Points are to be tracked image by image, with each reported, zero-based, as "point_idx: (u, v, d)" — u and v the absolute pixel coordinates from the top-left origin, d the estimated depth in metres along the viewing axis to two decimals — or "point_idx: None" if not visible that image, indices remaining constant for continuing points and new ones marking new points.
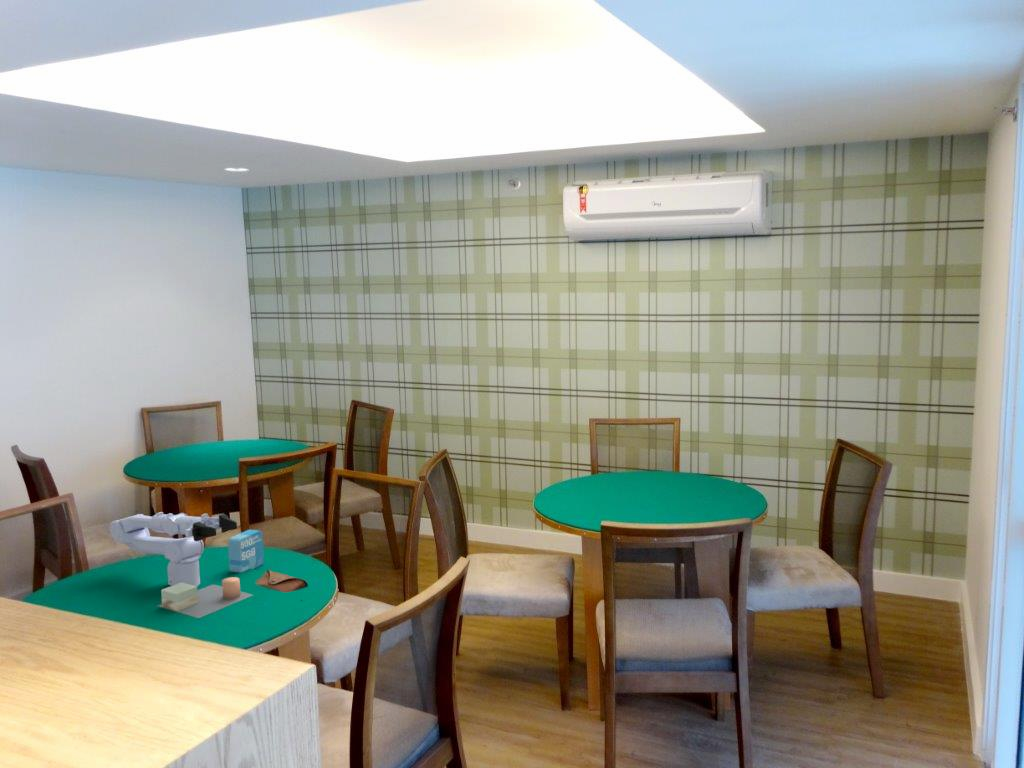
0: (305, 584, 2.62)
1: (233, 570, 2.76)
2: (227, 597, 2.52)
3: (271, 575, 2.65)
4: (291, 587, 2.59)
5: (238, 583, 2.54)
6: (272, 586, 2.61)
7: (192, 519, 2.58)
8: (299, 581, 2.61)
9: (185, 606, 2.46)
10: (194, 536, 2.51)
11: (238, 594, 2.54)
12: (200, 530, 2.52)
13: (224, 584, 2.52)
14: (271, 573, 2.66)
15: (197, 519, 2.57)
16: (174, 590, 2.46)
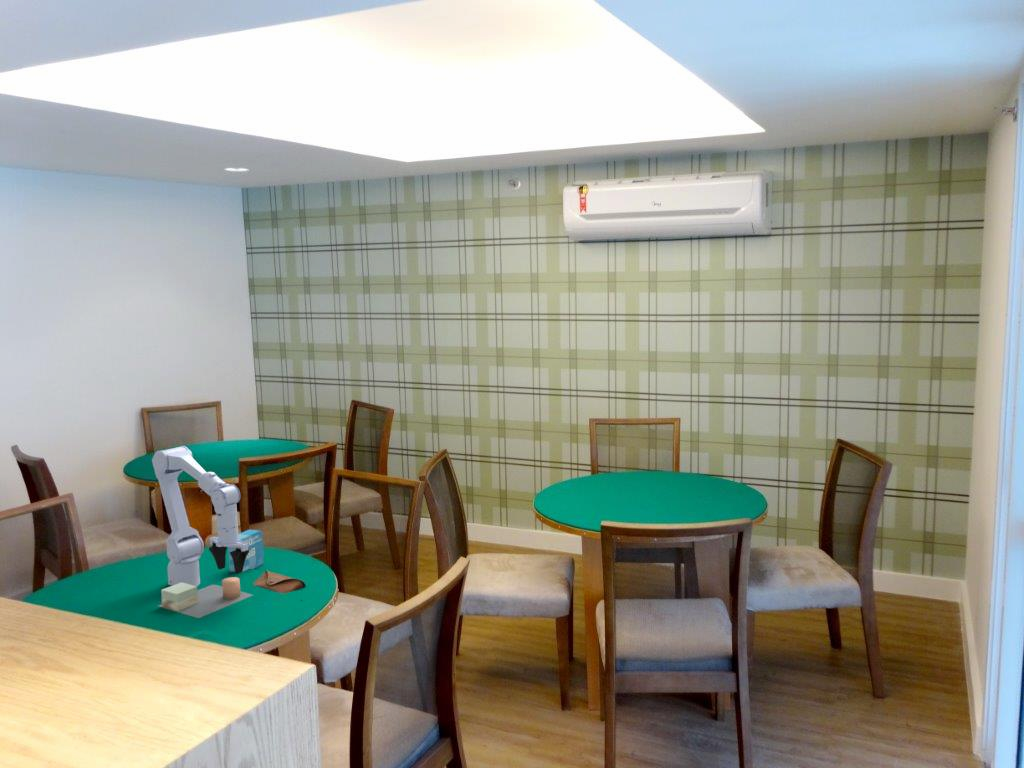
0: (303, 585, 2.61)
1: (233, 570, 2.76)
2: (227, 597, 2.52)
3: (269, 576, 2.64)
4: (289, 588, 2.58)
5: (238, 583, 2.54)
6: (270, 587, 2.60)
7: None
8: (297, 582, 2.60)
9: (185, 606, 2.46)
10: None
11: (238, 594, 2.54)
12: None
13: (224, 584, 2.52)
14: (269, 574, 2.66)
15: (218, 537, 2.51)
16: (174, 590, 2.46)
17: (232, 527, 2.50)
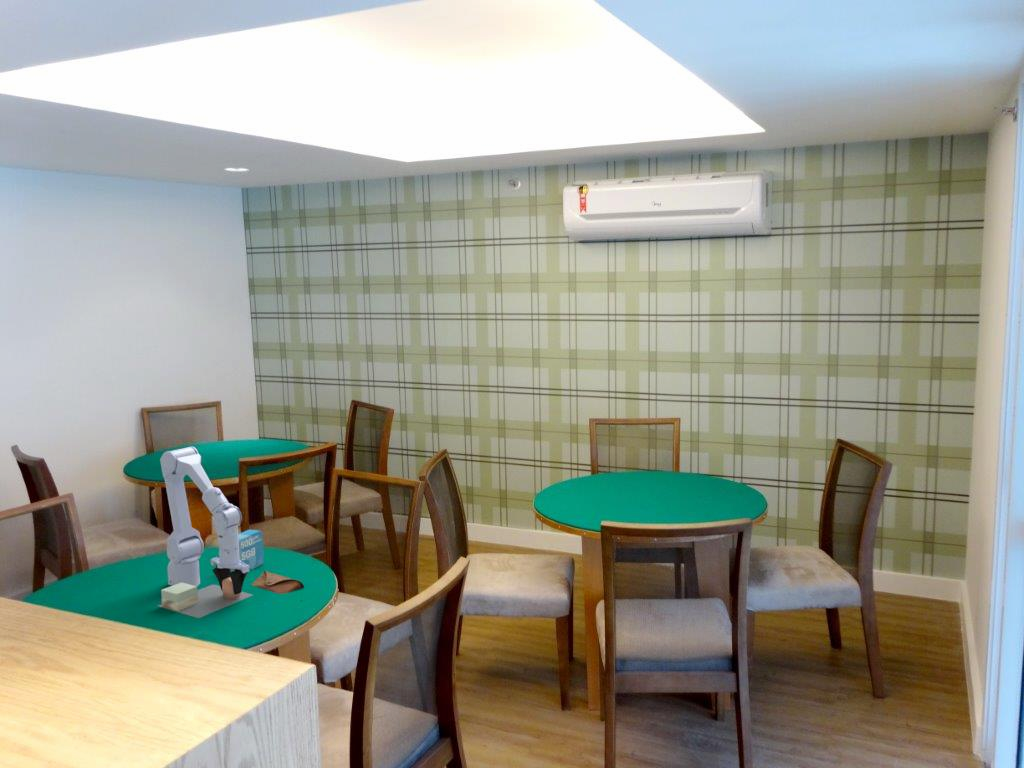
0: (301, 585, 2.60)
1: (233, 570, 2.76)
2: (227, 597, 2.52)
3: (267, 576, 2.64)
4: (287, 589, 2.58)
5: None
6: (268, 587, 2.60)
7: (219, 551, 2.51)
8: (295, 583, 2.60)
9: (185, 606, 2.46)
10: None
11: (238, 594, 2.54)
12: None
13: (224, 584, 2.52)
14: (268, 574, 2.65)
15: (219, 558, 2.51)
16: (174, 590, 2.46)
17: (233, 549, 2.51)
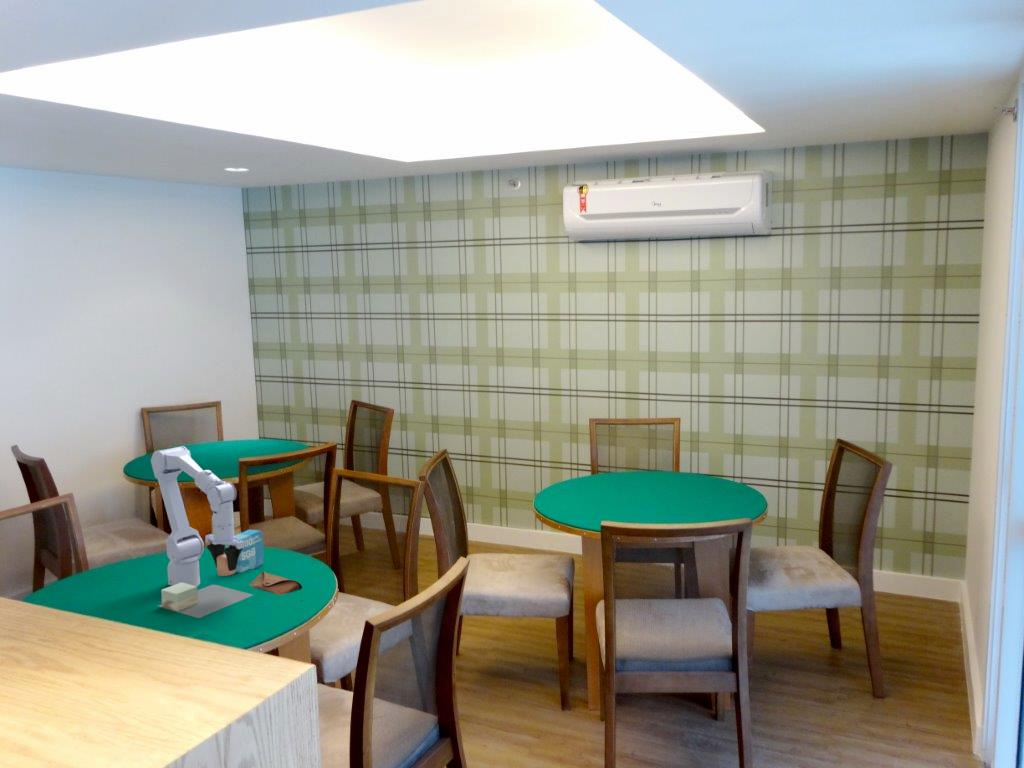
0: (299, 586, 2.60)
1: None
2: (222, 573, 2.51)
3: (265, 577, 2.63)
4: (285, 589, 2.57)
5: None
6: (266, 588, 2.59)
7: None
8: (294, 583, 2.59)
9: (185, 606, 2.46)
10: None
11: (233, 571, 2.52)
12: None
13: (219, 560, 2.50)
14: (266, 575, 2.65)
15: (214, 534, 2.50)
16: (174, 590, 2.46)
17: (227, 525, 2.49)
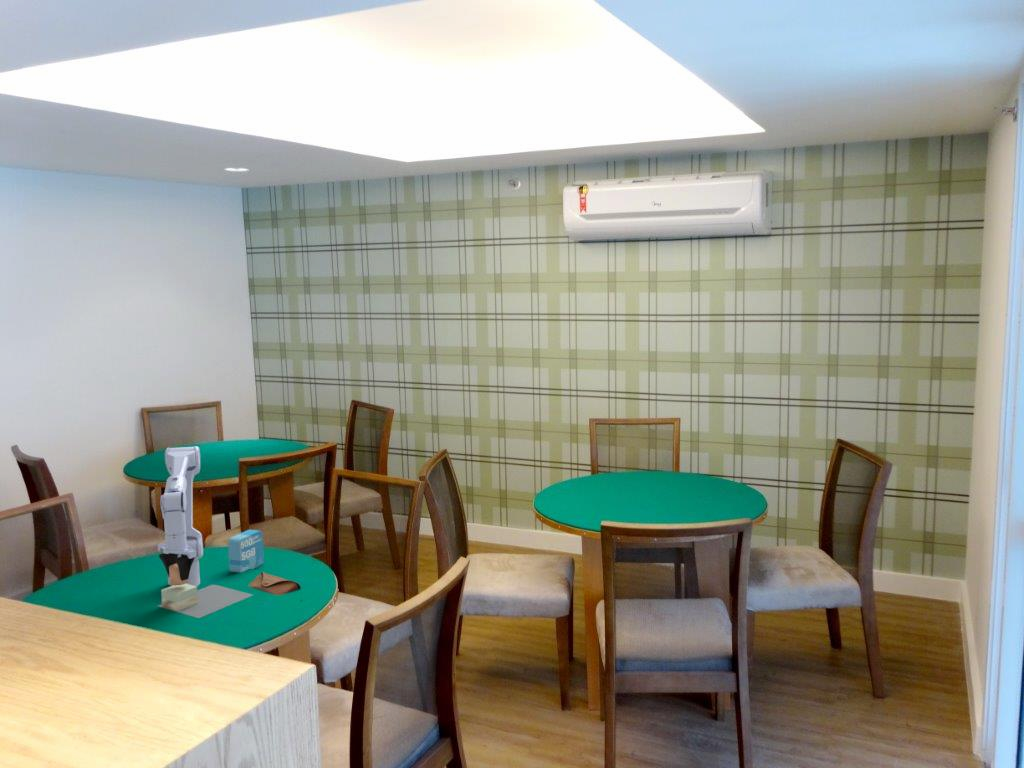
0: (298, 587, 2.60)
1: (233, 570, 2.76)
2: (173, 583, 2.45)
3: (264, 577, 2.63)
4: (284, 590, 2.57)
5: None
6: (265, 588, 2.59)
7: (165, 536, 2.45)
8: (292, 584, 2.59)
9: (185, 606, 2.46)
10: None
11: (185, 580, 2.47)
12: None
13: (170, 570, 2.45)
14: (264, 575, 2.64)
15: (165, 543, 2.45)
16: (174, 590, 2.46)
17: (171, 534, 2.43)
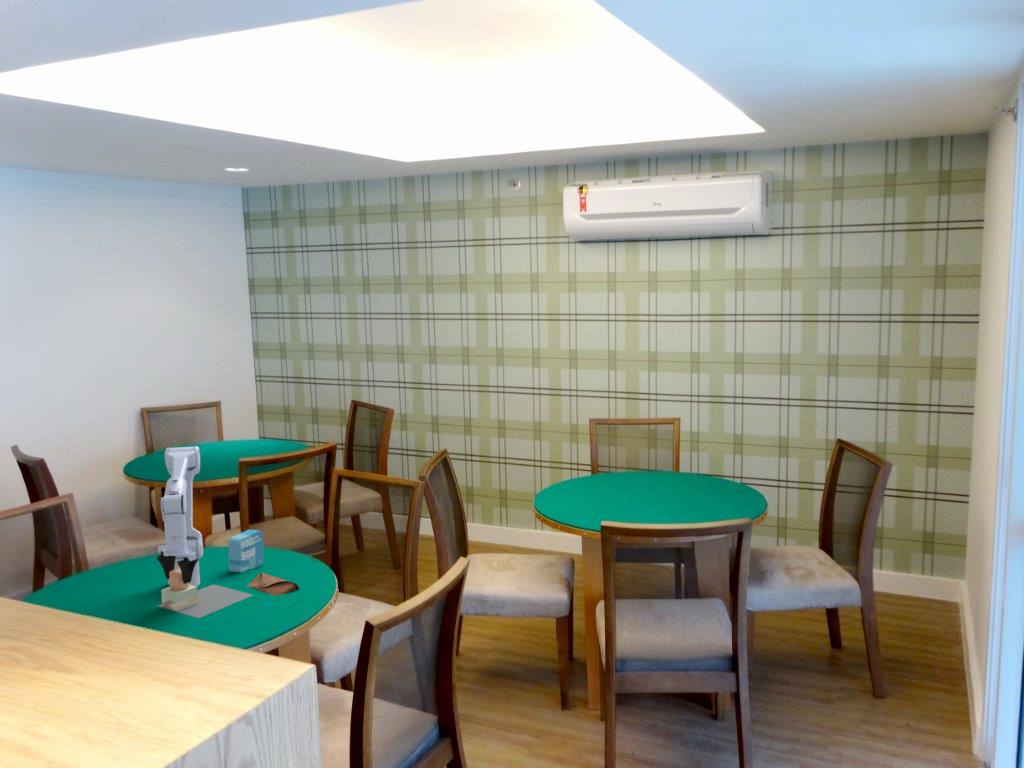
0: (296, 587, 2.59)
1: (233, 570, 2.76)
2: (174, 589, 2.46)
3: (263, 577, 2.63)
4: (282, 591, 2.56)
5: None
6: (263, 589, 2.58)
7: (165, 539, 2.45)
8: (290, 585, 2.58)
9: (185, 606, 2.46)
10: None
11: (185, 586, 2.47)
12: None
13: (171, 575, 2.45)
14: (263, 575, 2.64)
15: (166, 546, 2.45)
16: None
17: (172, 537, 2.43)
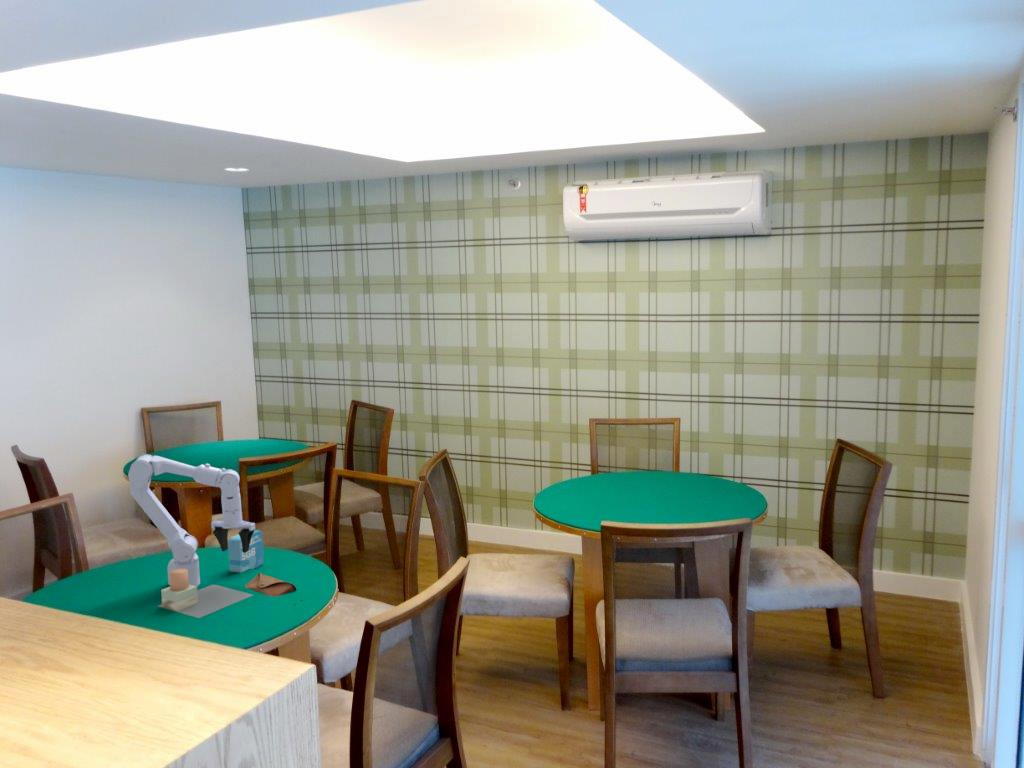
0: (294, 588, 2.58)
1: (233, 570, 2.76)
2: (174, 589, 2.46)
3: (261, 578, 2.62)
4: (279, 591, 2.56)
5: (185, 575, 2.47)
6: (260, 590, 2.58)
7: (223, 513, 2.63)
8: (288, 586, 2.58)
9: (185, 606, 2.46)
10: None
11: (185, 586, 2.47)
12: None
13: (171, 575, 2.45)
14: (261, 576, 2.63)
15: (224, 520, 2.64)
16: None
17: (240, 507, 2.65)
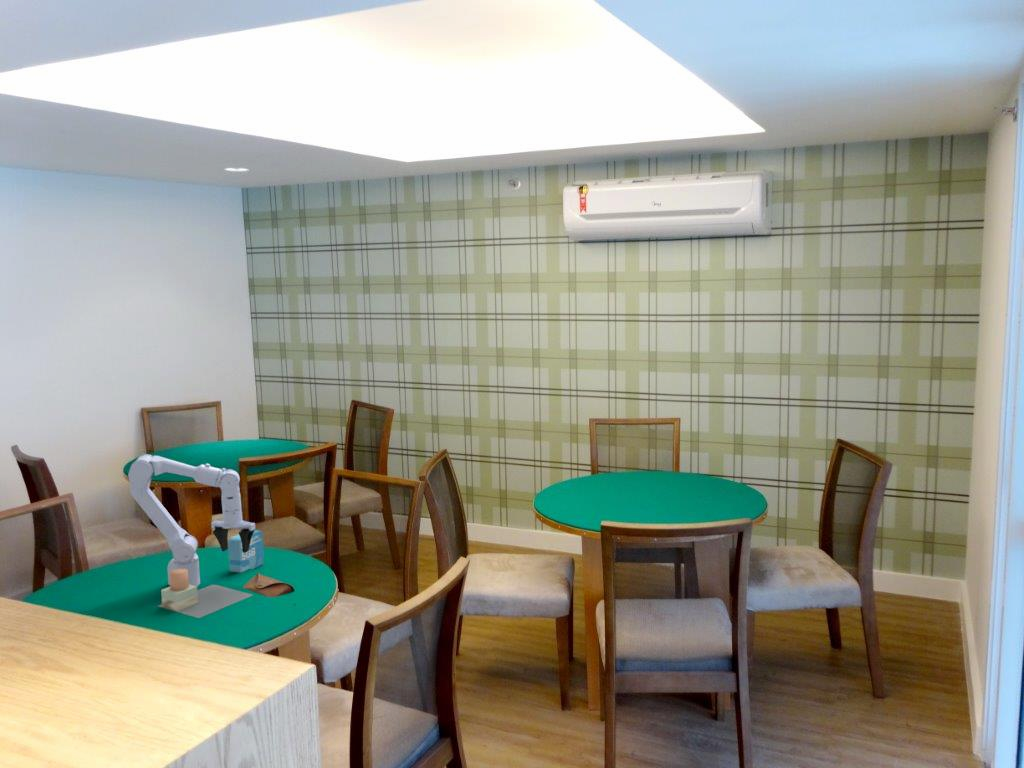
0: (291, 589, 2.58)
1: (233, 570, 2.76)
2: (174, 589, 2.46)
3: (259, 579, 2.62)
4: (277, 592, 2.55)
5: (185, 575, 2.47)
6: (258, 590, 2.57)
7: (223, 513, 2.64)
8: (286, 586, 2.57)
9: (185, 606, 2.46)
10: None
11: (185, 586, 2.47)
12: None
13: (171, 575, 2.45)
14: (259, 577, 2.63)
15: (224, 520, 2.64)
16: None
17: None
